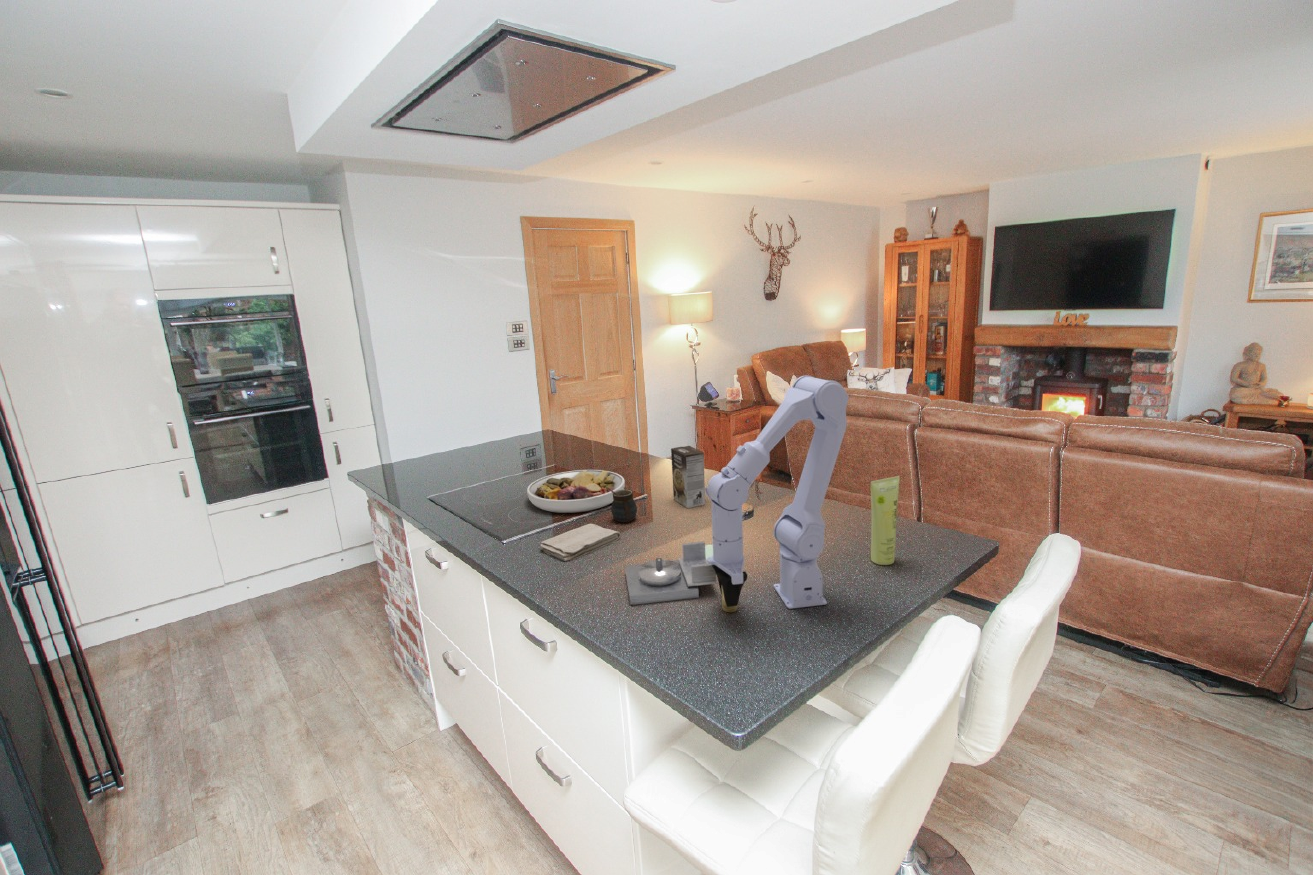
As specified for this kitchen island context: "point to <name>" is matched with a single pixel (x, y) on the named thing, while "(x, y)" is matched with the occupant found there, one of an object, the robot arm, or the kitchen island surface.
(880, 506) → the tube
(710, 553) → the pad
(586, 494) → the bowl
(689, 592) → the base
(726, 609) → the olive glass cylinder
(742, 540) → the robot arm
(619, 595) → the kitchen island surface
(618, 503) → the mate gourd
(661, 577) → the grey disc and bracket
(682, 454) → the coffee box
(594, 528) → the washcloth
